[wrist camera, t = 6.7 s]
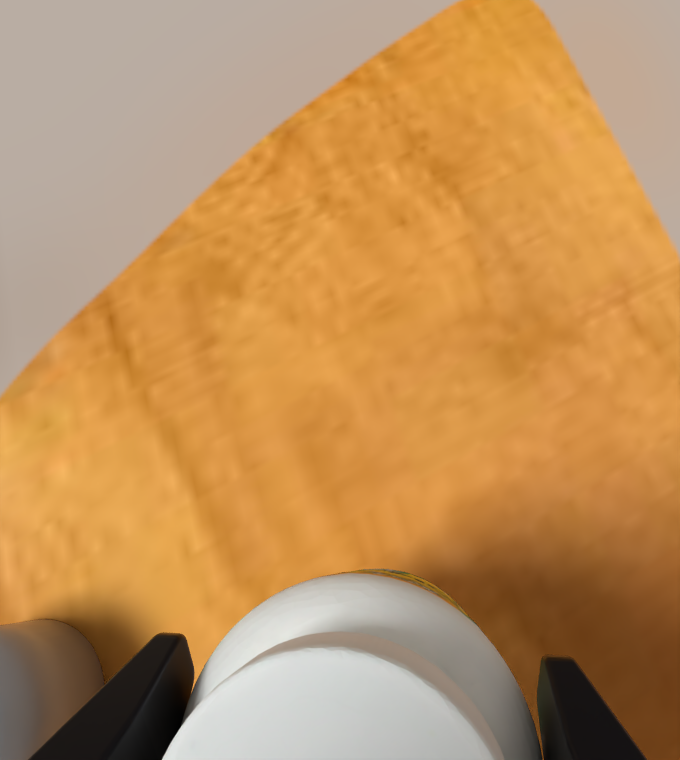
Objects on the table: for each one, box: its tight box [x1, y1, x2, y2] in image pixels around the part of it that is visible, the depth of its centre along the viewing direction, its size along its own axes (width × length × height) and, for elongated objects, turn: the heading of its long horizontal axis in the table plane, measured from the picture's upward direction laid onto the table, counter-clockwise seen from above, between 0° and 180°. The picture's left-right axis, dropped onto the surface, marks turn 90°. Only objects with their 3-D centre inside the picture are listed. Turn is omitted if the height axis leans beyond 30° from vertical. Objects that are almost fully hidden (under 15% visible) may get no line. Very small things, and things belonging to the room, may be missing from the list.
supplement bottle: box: [162, 569, 543, 760], centre depth 10 cm, size 5×5×10 cm
